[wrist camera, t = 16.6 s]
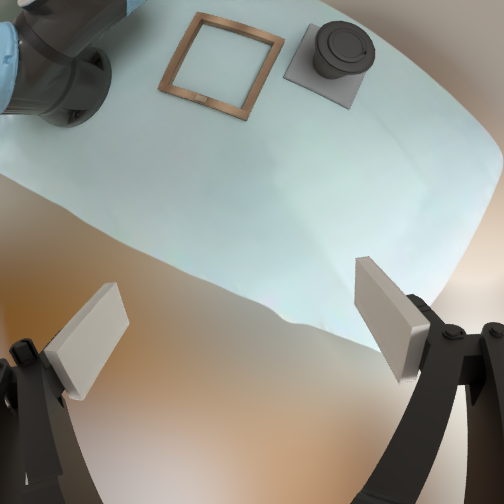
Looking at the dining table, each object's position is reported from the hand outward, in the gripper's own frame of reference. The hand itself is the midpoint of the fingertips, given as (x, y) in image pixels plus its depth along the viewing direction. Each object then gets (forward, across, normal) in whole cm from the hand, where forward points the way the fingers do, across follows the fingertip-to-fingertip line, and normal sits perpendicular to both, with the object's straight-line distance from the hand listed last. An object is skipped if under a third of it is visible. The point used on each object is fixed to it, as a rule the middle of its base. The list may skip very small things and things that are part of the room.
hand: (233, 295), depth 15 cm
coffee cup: (+31, +15, +20) cm, 40 cm away
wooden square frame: (+32, -1, +22) cm, 38 cm away
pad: (+32, +15, +20) cm, 41 cm away
